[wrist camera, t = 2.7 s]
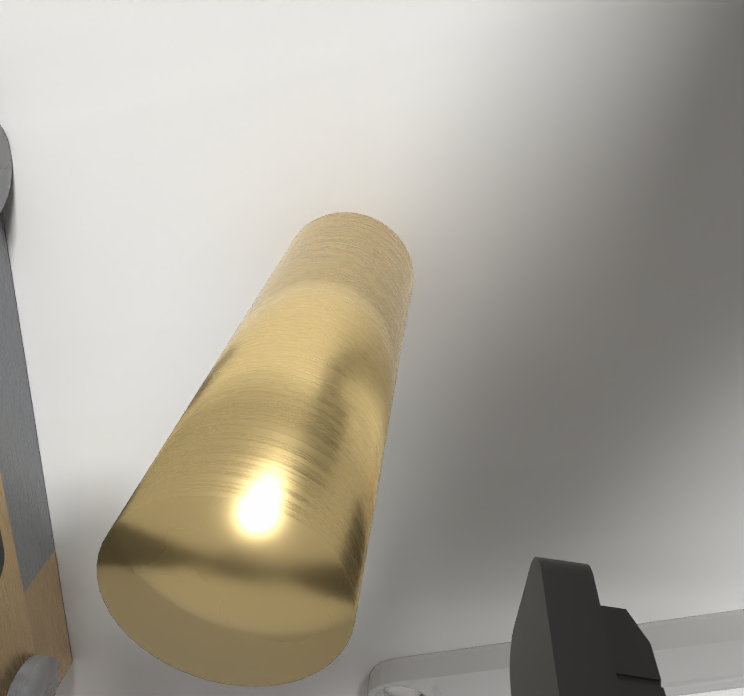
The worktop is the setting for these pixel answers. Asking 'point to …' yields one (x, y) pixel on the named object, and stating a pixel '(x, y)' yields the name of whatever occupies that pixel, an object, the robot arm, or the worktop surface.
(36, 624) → the brass frame with rod
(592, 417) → the worktop surface
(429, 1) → the worktop surface
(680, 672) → the adjustable wrench
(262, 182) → the worktop surface
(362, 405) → the pin
